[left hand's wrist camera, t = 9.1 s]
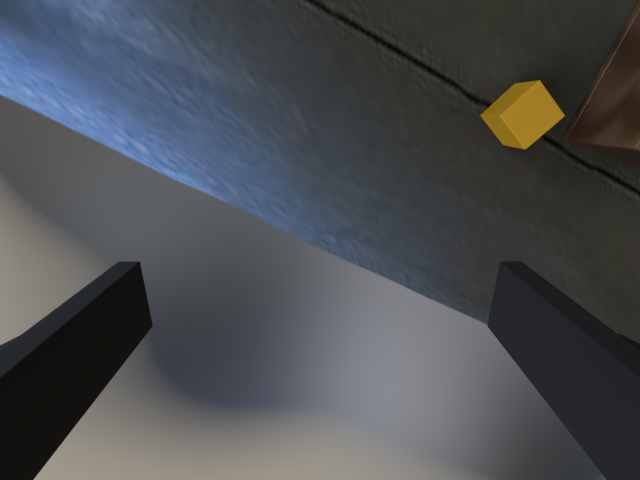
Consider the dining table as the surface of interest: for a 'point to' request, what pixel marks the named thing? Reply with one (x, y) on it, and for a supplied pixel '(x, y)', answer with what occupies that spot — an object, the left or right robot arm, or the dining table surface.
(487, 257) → the dining table surface
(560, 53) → the dining table surface
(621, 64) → the chest
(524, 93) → the block
